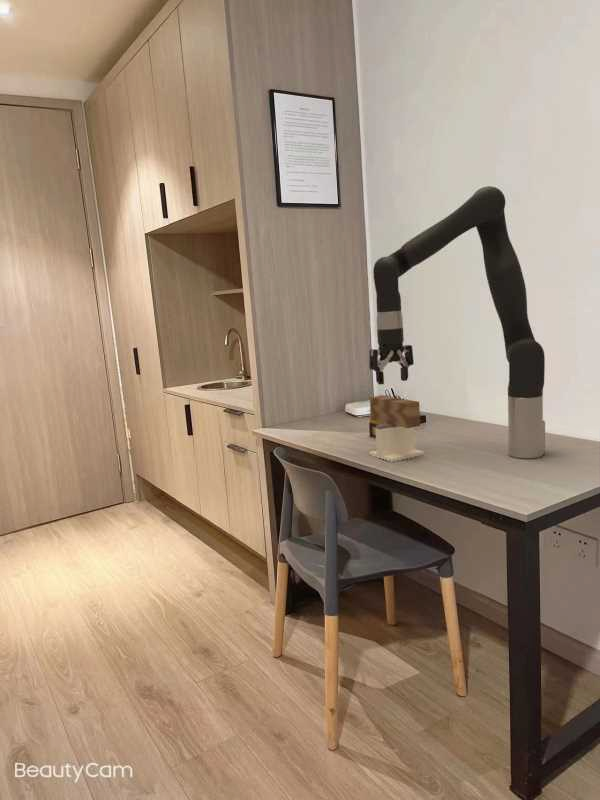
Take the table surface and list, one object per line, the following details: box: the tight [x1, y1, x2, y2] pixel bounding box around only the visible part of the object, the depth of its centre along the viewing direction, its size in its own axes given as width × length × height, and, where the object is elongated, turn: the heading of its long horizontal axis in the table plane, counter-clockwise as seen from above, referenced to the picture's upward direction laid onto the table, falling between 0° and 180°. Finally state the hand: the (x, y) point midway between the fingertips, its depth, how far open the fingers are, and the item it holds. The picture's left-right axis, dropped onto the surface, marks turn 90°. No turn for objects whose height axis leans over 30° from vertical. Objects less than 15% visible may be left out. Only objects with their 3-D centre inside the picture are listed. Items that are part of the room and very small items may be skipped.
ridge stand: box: [368, 423, 425, 463], centre depth 184 cm, size 12×11×10 cm
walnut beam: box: [369, 394, 421, 428], centre depth 183 cm, size 18×4×7 cm, turn 29°
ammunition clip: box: [368, 408, 385, 439], centre depth 206 cm, size 11×2×12 cm, turn 30°
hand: (392, 382), depth 182 cm, fingers open, 8 cm apart
